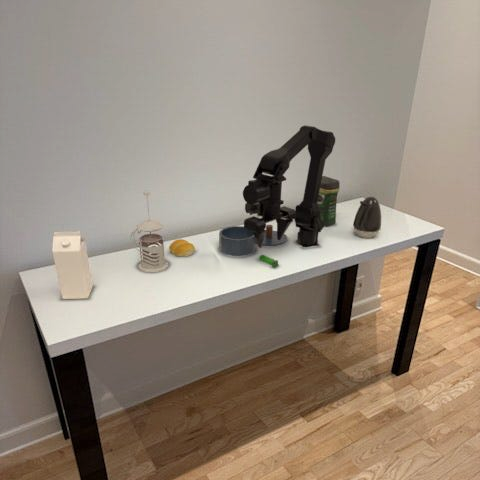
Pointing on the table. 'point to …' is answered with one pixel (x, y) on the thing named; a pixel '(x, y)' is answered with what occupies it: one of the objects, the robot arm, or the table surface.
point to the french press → (151, 260)
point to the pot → (236, 241)
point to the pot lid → (272, 237)
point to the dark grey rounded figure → (368, 218)
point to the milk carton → (72, 265)
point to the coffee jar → (328, 200)
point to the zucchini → (268, 260)
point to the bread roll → (182, 248)
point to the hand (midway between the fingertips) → (269, 243)
